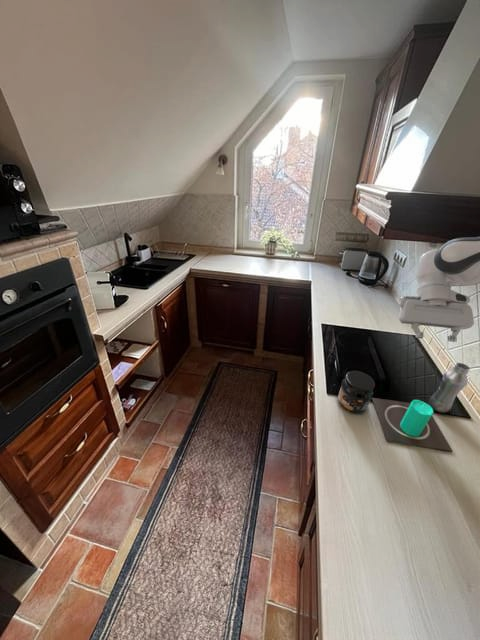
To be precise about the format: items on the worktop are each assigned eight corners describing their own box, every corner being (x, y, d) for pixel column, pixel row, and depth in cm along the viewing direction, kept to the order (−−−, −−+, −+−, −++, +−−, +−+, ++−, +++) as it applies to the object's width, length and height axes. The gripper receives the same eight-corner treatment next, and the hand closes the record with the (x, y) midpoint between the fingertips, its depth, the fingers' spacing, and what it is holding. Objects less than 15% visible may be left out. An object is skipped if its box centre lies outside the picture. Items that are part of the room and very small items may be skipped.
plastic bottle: (452, 412, 92) (480, 370, 81) (439, 417, 89) (467, 375, 79) (434, 399, 97) (459, 358, 87) (422, 403, 94) (446, 362, 84)
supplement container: (330, 397, 96) (337, 373, 90) (351, 389, 100) (360, 366, 94) (351, 419, 88) (360, 394, 82) (373, 410, 92) (383, 385, 85)
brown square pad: (425, 406, 94) (426, 405, 93) (451, 452, 78) (452, 450, 78) (371, 398, 96) (371, 397, 96) (386, 441, 81) (387, 440, 80)
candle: (395, 423, 86) (408, 399, 80) (408, 418, 88) (422, 394, 82) (411, 439, 81) (426, 413, 75) (424, 433, 83) (440, 408, 77)
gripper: (404, 291, 81) (405, 333, 78) (475, 297, 78) (479, 341, 75) (395, 298, 87) (395, 337, 84) (460, 304, 84) (463, 345, 81)
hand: (435, 339), depth 79 cm, fingers open, 8 cm apart
